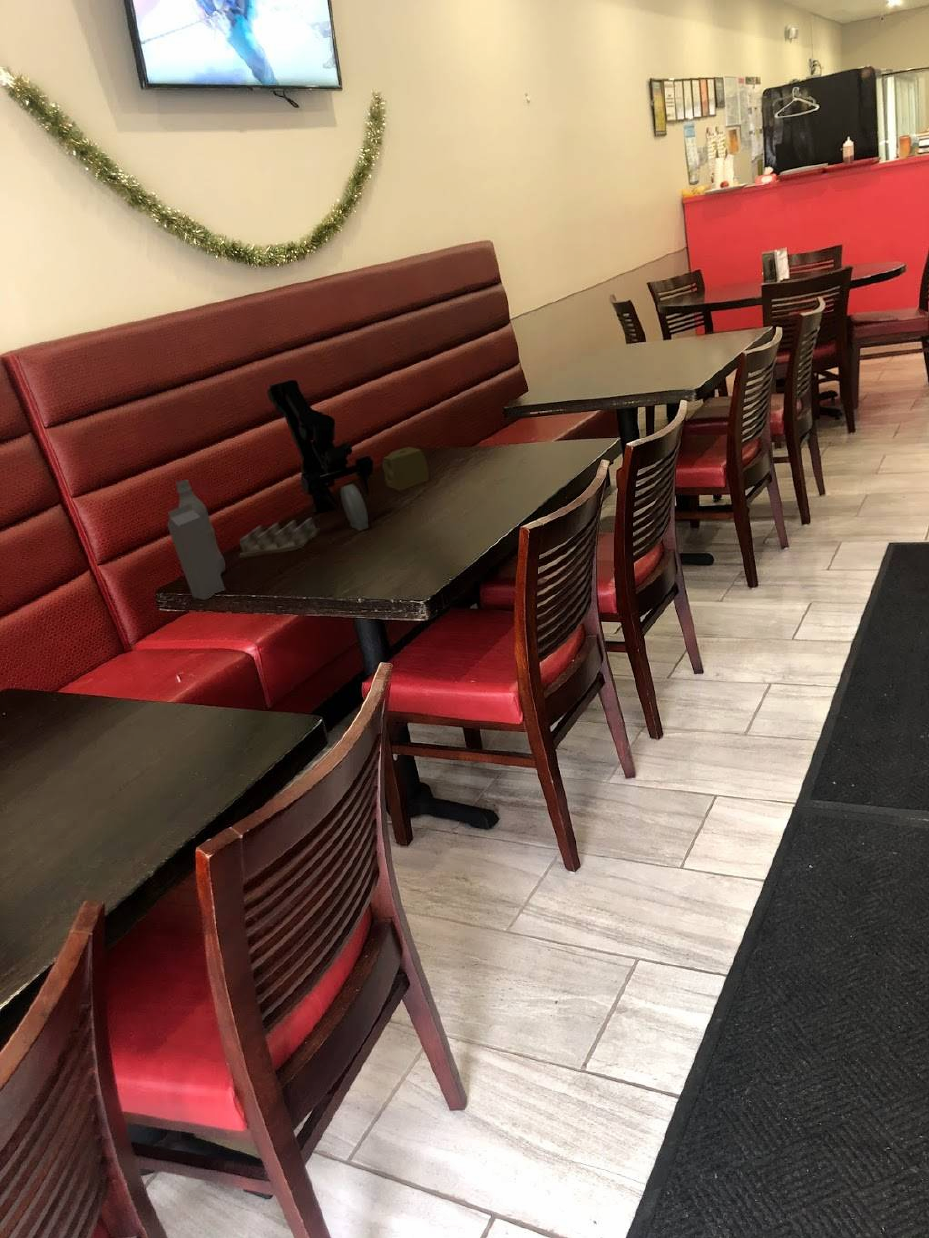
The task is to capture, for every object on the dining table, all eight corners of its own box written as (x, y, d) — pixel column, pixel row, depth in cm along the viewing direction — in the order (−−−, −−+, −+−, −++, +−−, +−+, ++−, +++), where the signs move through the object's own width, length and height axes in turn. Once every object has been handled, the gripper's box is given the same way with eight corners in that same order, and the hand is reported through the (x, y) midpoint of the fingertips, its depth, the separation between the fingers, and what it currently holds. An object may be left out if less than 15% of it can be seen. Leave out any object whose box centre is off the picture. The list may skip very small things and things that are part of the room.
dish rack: (263, 540, 275) (258, 524, 274) (320, 531, 269) (316, 515, 268) (240, 558, 263) (234, 542, 261) (299, 549, 257) (294, 533, 255)
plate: (348, 525, 269) (336, 484, 264) (357, 521, 269) (346, 481, 265) (362, 532, 258) (350, 489, 254) (371, 528, 259) (360, 486, 255)
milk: (225, 591, 238) (196, 503, 230) (204, 600, 235) (173, 512, 227) (213, 588, 242) (184, 502, 235) (192, 597, 239) (162, 511, 231)
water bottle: (220, 578, 249) (187, 483, 240) (195, 582, 251) (162, 488, 242) (232, 567, 256) (200, 475, 247) (207, 571, 258) (175, 480, 249)
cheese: (387, 487, 300) (378, 455, 297) (418, 476, 304) (410, 445, 300) (398, 492, 291) (390, 459, 287) (431, 481, 294) (423, 448, 291)
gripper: (295, 446, 257) (319, 491, 251) (361, 425, 263) (386, 469, 257) (296, 472, 267) (319, 516, 261) (359, 451, 273) (383, 494, 267)
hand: (352, 499), depth 261 cm, fingers open, 9 cm apart
